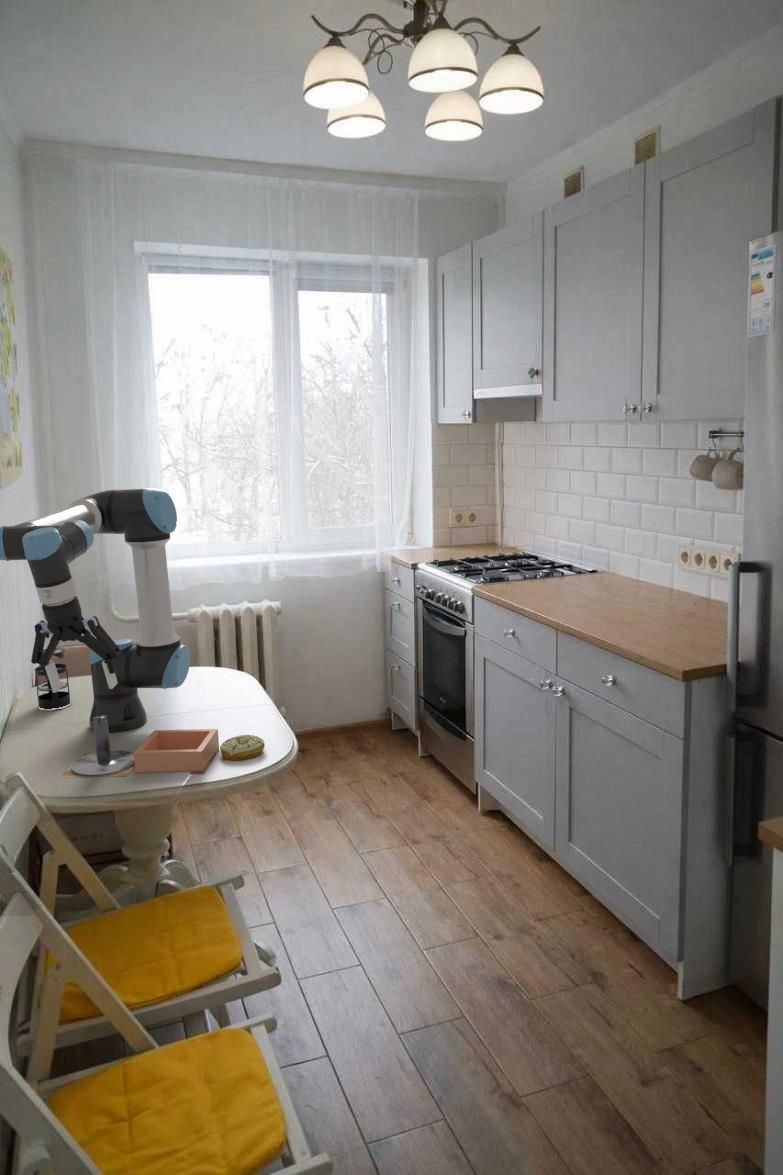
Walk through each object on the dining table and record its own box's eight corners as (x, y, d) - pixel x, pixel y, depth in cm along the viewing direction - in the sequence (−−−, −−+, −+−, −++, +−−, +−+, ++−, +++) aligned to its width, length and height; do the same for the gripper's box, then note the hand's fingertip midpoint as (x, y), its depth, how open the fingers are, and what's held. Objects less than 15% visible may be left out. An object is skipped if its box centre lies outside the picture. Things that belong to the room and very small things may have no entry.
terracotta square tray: (156, 751, 224) (154, 730, 223) (219, 749, 223) (217, 728, 222) (135, 775, 208) (133, 752, 207) (203, 773, 207) (201, 751, 206)
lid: (85, 754, 222) (81, 708, 220) (145, 752, 221) (141, 707, 219) (61, 777, 207) (56, 728, 205) (125, 775, 206) (120, 726, 204)
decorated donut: (214, 753, 221) (213, 739, 221) (253, 744, 227) (252, 730, 226) (230, 765, 213) (229, 750, 212) (271, 755, 218) (270, 740, 218)
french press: (73, 708, 264) (66, 632, 260) (40, 713, 260) (31, 636, 256) (68, 698, 274) (61, 625, 270) (36, 703, 270) (28, 629, 266)
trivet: (84, 755, 222) (84, 753, 222) (147, 754, 222) (147, 752, 222) (58, 780, 207) (58, 777, 207) (126, 778, 206) (126, 776, 206)
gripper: (-3, 611, 189) (25, 699, 197) (105, 602, 184) (130, 692, 192) (15, 597, 196) (42, 683, 203) (120, 588, 191) (144, 676, 199)
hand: (85, 688), depth 198 cm, fingers open, 13 cm apart
